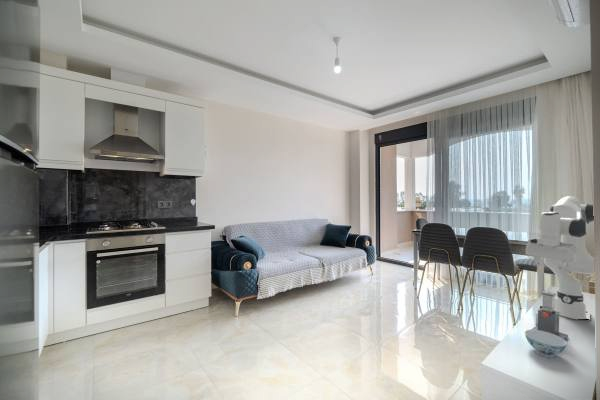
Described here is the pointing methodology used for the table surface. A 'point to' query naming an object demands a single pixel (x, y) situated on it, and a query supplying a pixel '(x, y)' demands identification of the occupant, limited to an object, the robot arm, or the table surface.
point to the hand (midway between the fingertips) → (549, 266)
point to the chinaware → (545, 342)
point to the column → (548, 302)
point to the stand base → (549, 323)
